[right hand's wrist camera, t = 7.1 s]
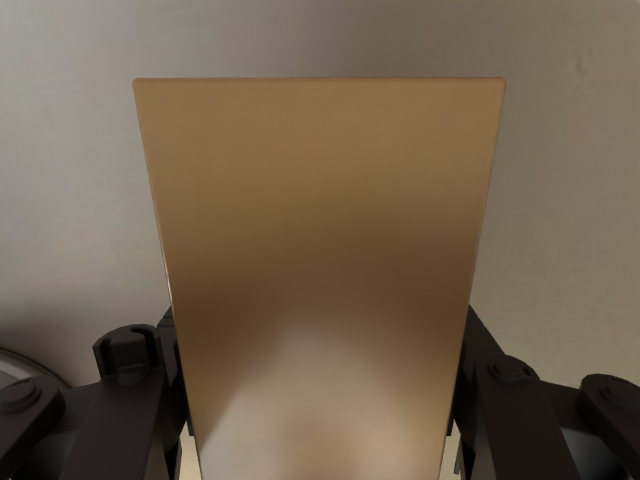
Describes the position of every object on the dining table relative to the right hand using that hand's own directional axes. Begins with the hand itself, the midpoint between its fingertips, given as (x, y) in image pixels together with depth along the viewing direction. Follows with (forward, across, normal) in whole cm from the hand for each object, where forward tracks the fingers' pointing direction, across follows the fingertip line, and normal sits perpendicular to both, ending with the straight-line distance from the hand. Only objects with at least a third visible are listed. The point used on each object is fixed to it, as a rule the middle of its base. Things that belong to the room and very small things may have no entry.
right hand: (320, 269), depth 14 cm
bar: (+1, 0, -19) cm, 19 cm away
